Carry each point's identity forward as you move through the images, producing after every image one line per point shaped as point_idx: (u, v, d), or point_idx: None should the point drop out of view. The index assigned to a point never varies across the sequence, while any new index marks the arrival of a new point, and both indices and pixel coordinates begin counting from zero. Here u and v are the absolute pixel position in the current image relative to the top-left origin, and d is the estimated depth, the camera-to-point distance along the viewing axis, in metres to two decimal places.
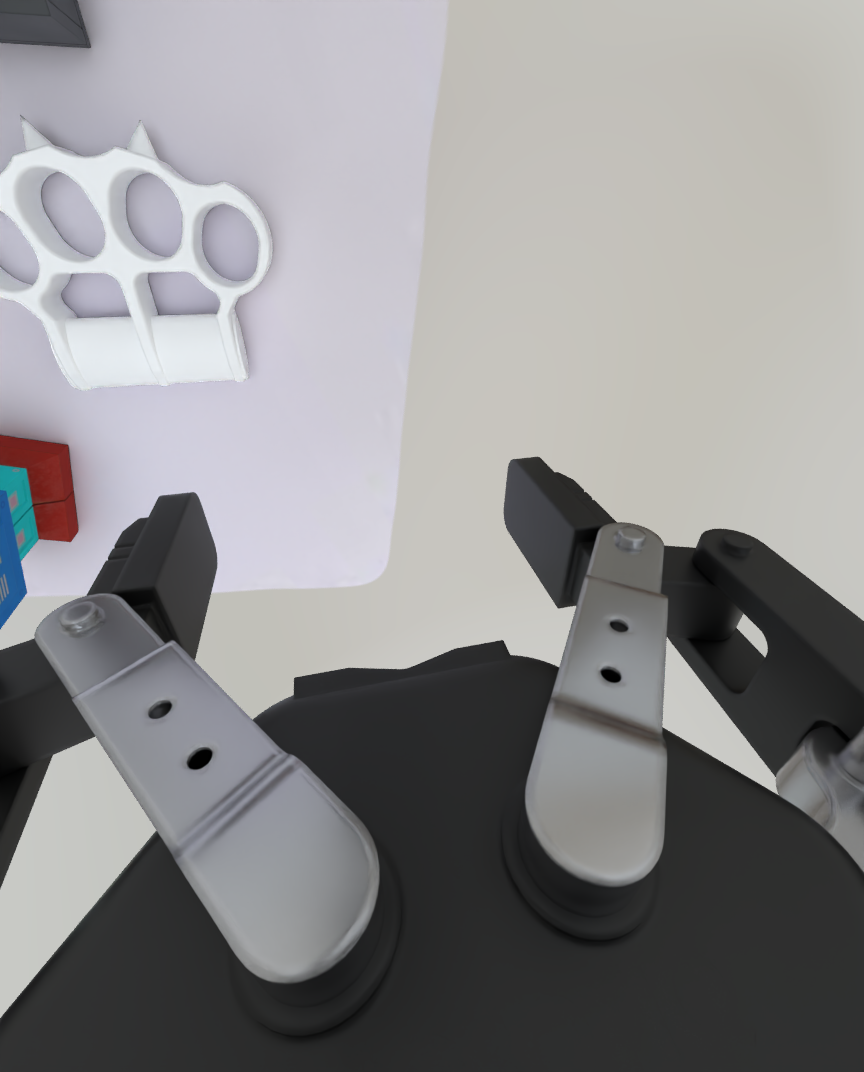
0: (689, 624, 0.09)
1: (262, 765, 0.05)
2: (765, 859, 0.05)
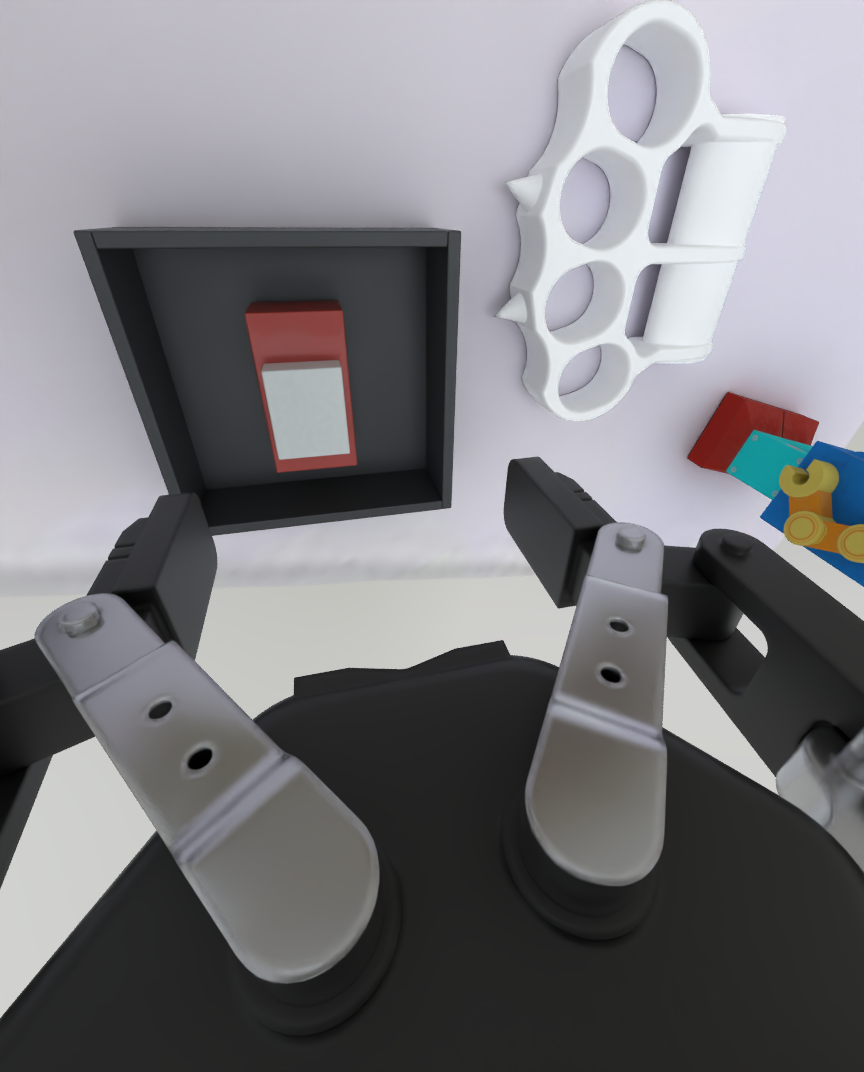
0: (689, 624, 0.09)
1: (262, 765, 0.05)
2: (765, 859, 0.05)
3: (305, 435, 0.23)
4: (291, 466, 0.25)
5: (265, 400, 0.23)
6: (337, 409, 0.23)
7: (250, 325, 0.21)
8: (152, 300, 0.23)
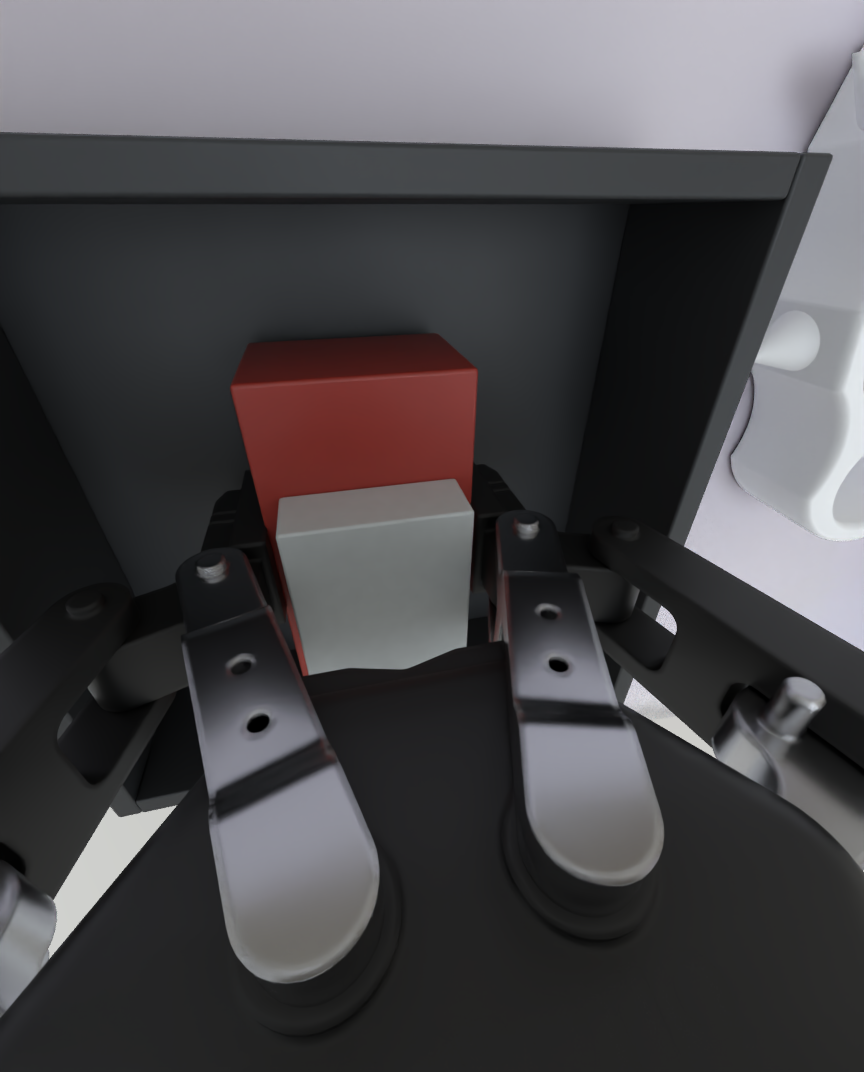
0: None
1: (306, 748, 0.05)
2: (765, 859, 0.05)
3: (376, 648, 0.10)
4: None
5: (283, 568, 0.10)
6: (452, 594, 0.10)
7: (246, 414, 0.08)
8: (20, 342, 0.10)
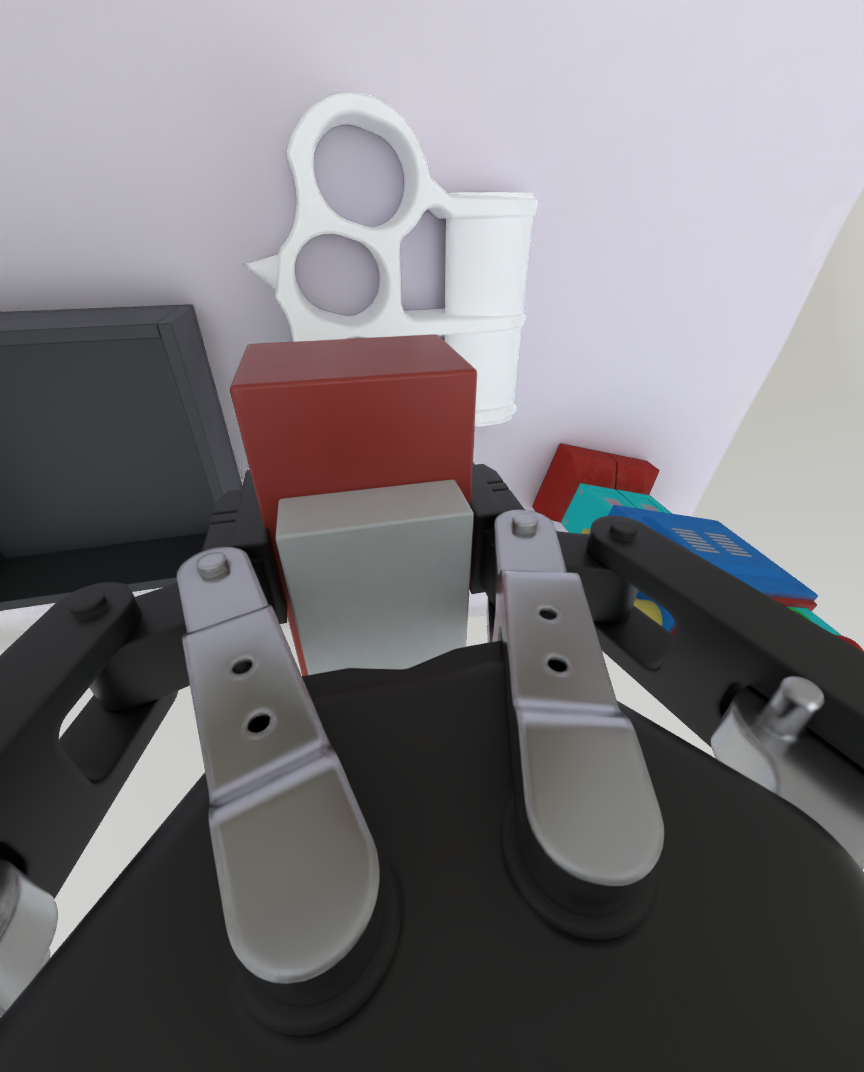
0: None
1: (306, 748, 0.05)
2: (765, 859, 0.05)
3: (376, 648, 0.10)
4: None
5: (283, 569, 0.10)
6: (452, 595, 0.10)
7: (246, 415, 0.08)
8: None
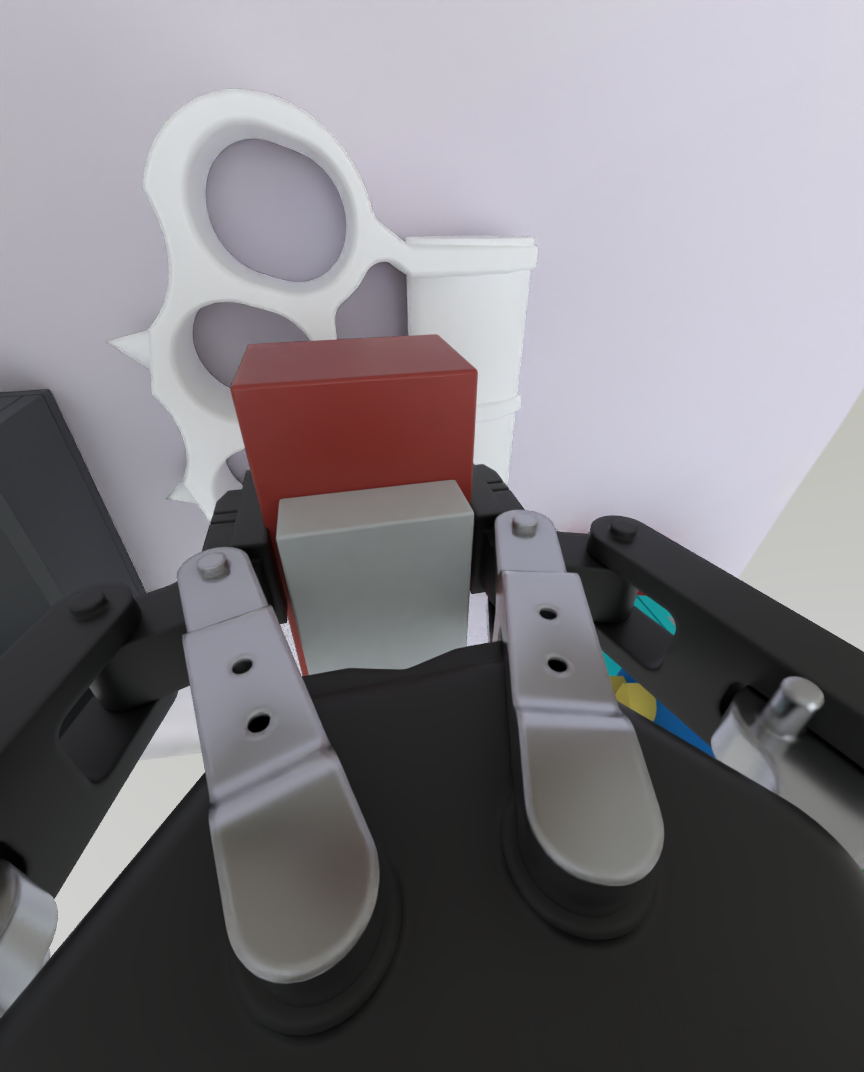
0: None
1: (307, 748, 0.05)
2: (765, 859, 0.05)
3: (376, 648, 0.10)
4: None
5: (283, 569, 0.10)
6: (452, 595, 0.10)
7: (246, 415, 0.08)
8: None
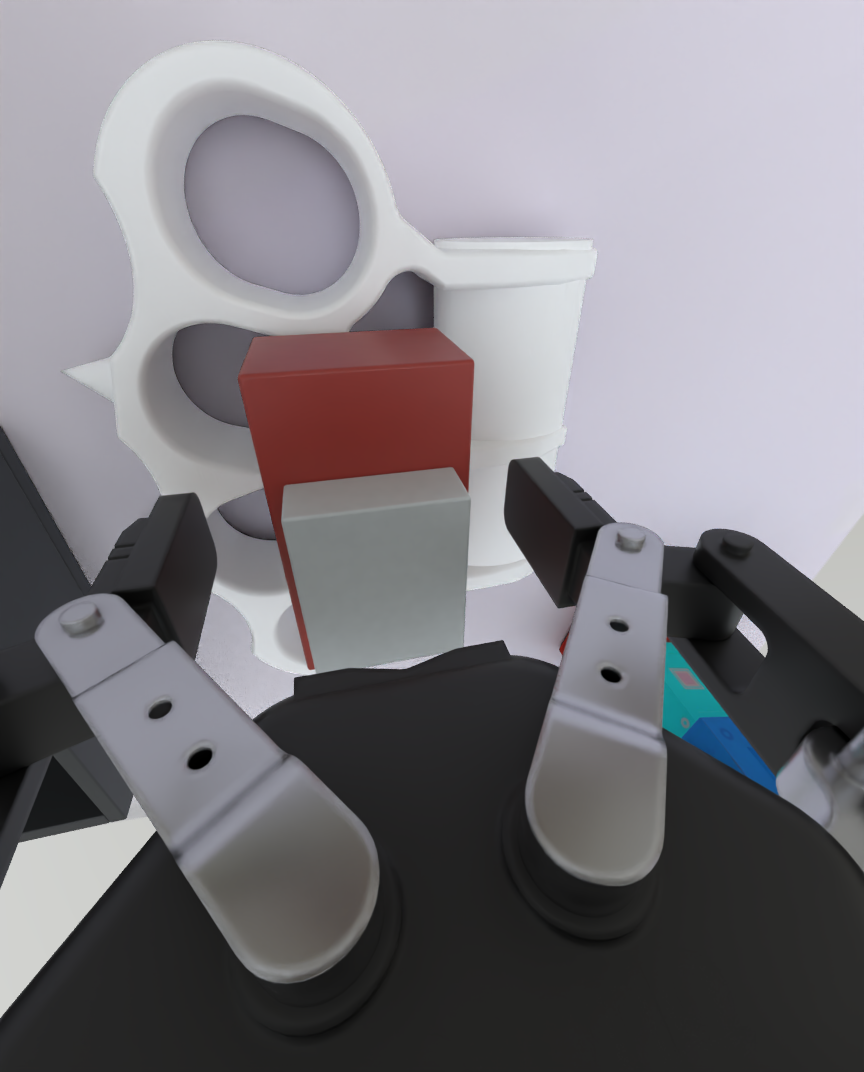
0: (689, 624, 0.09)
1: (262, 764, 0.05)
2: (765, 859, 0.05)
3: (377, 631, 0.10)
4: None
5: (287, 554, 0.10)
6: (450, 579, 0.10)
7: (253, 403, 0.08)
8: None
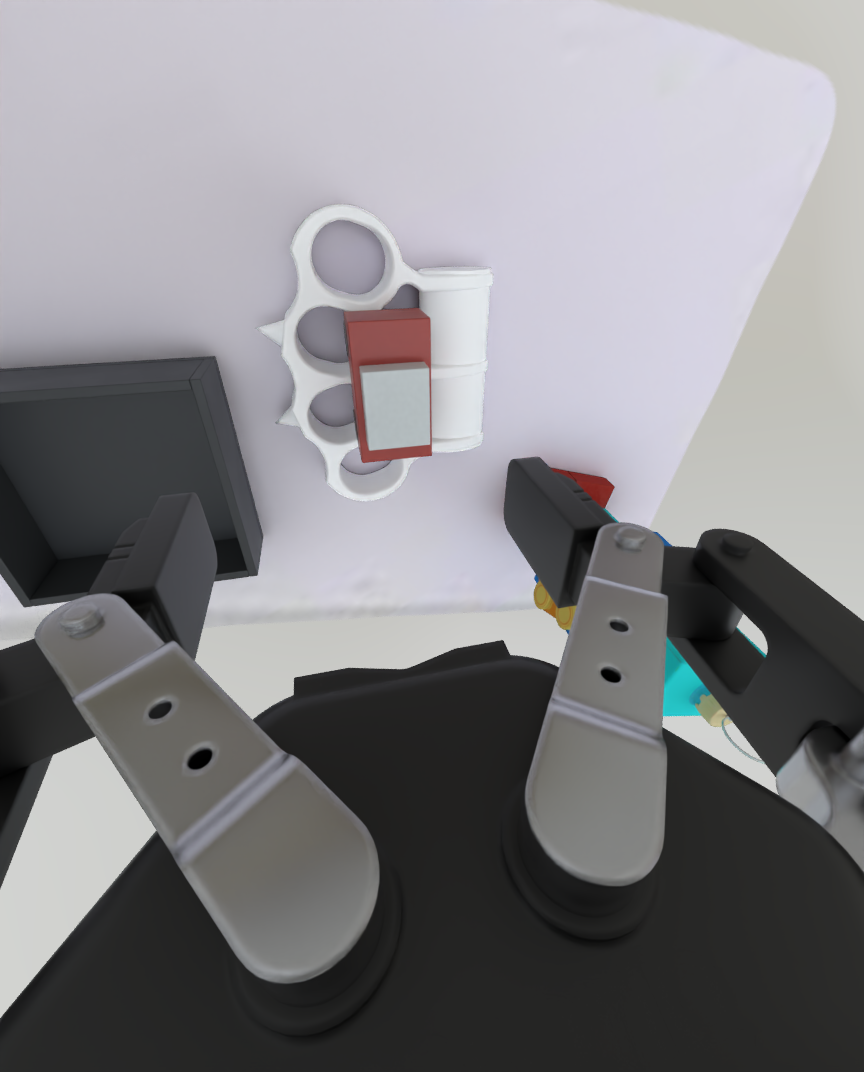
0: (689, 624, 0.09)
1: (262, 765, 0.05)
2: (765, 859, 0.05)
3: (394, 428, 0.26)
4: (375, 457, 0.28)
5: (358, 398, 0.26)
6: (422, 405, 0.26)
7: (351, 332, 0.24)
8: None
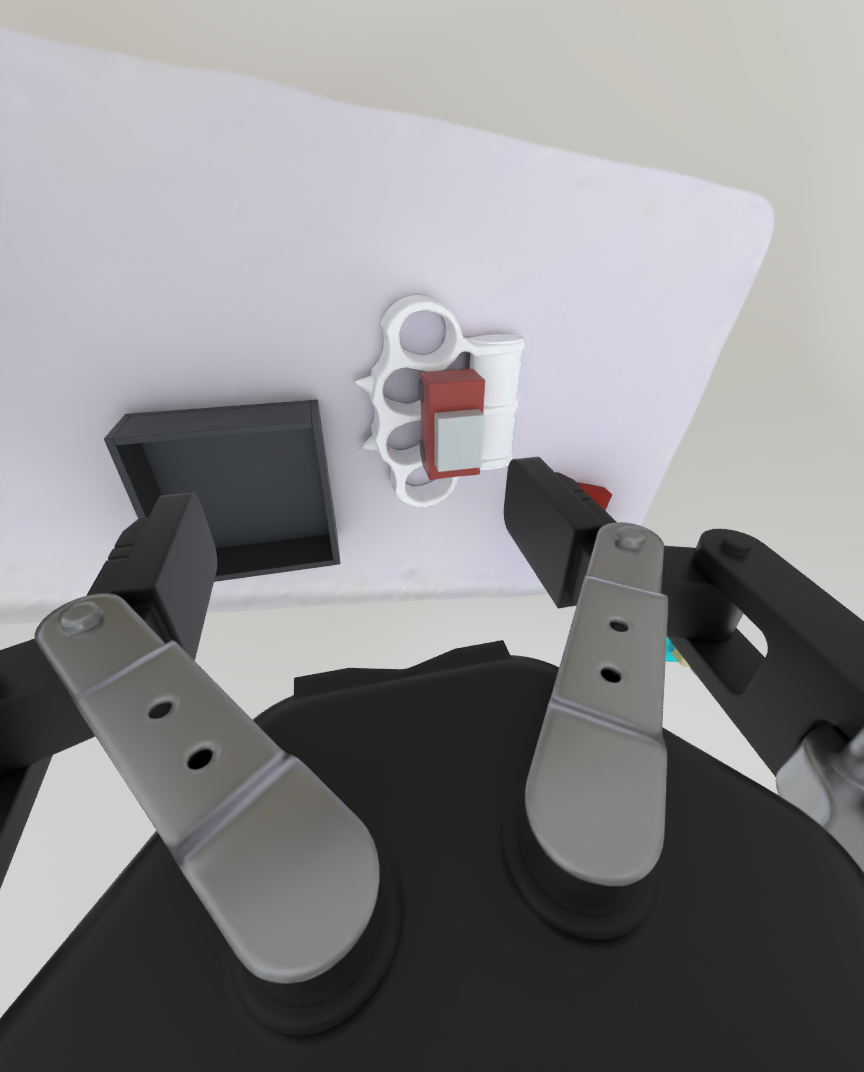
0: (689, 624, 0.09)
1: (262, 766, 0.05)
2: (765, 859, 0.05)
3: (457, 456, 0.36)
4: (439, 475, 0.39)
5: (431, 434, 0.36)
6: (478, 440, 0.36)
7: (431, 390, 0.34)
8: (146, 450, 0.39)
